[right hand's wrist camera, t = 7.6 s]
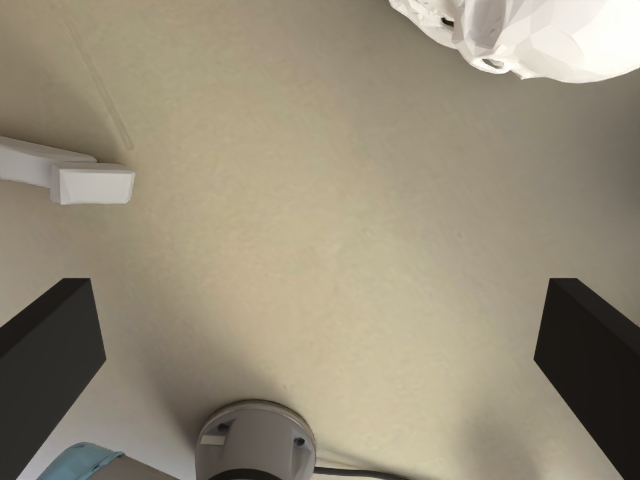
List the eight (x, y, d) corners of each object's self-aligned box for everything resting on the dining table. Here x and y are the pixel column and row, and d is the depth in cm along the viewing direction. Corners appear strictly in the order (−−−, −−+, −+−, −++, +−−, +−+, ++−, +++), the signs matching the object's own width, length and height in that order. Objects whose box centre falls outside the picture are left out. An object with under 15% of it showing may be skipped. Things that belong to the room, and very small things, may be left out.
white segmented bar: (141, 166, 44) (103, 179, 38) (136, 201, 45) (99, 219, 39) (-51, 113, 44) (-122, 116, 38) (-50, 149, 45) (-119, 159, 39)
